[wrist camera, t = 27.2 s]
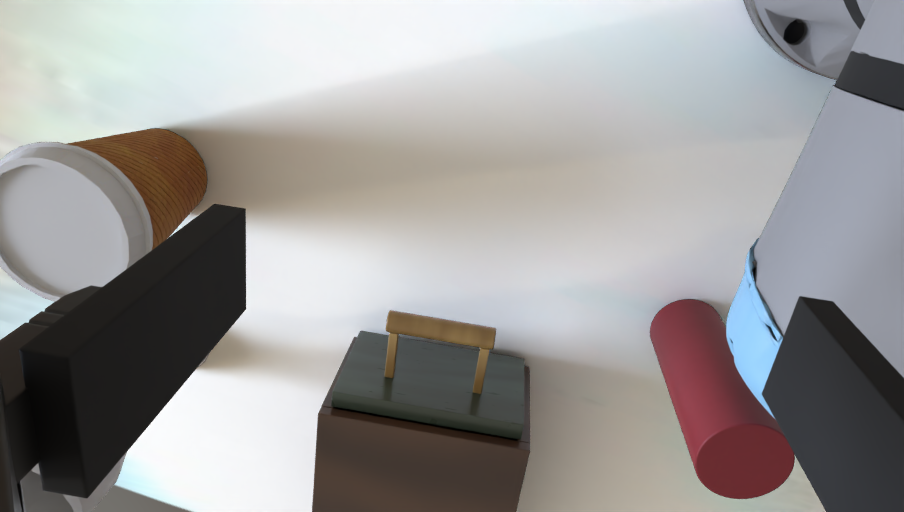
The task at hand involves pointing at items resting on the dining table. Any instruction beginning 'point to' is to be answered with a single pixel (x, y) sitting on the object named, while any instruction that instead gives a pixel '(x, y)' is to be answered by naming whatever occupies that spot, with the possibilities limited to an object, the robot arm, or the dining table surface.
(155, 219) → the disposable coffee cup
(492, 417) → the drawer
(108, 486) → the chalice
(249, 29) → the dining table surface
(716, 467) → the candle
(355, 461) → the cabinet
